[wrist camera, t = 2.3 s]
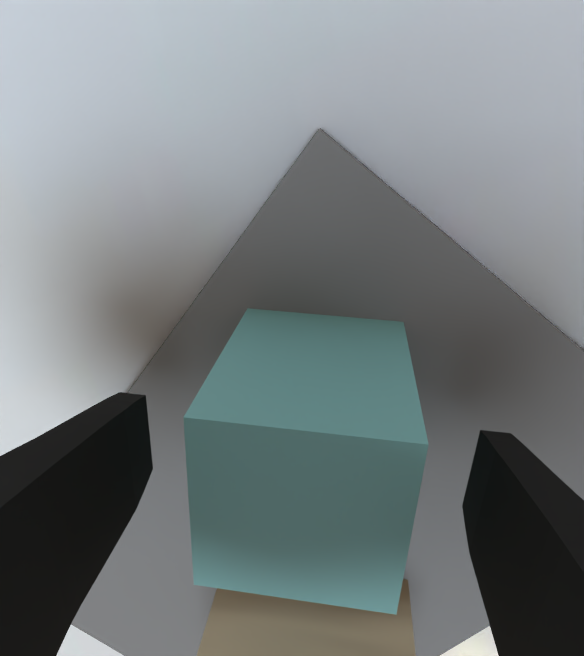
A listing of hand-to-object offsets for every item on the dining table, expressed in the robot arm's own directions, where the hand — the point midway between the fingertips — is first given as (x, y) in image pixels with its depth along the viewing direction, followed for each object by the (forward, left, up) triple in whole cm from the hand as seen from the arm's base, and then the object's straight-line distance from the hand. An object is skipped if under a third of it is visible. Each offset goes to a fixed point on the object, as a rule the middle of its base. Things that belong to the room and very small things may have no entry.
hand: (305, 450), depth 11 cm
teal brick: (0, 0, -3) cm, 3 cm away
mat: (+5, +3, -3) cm, 7 cm away
